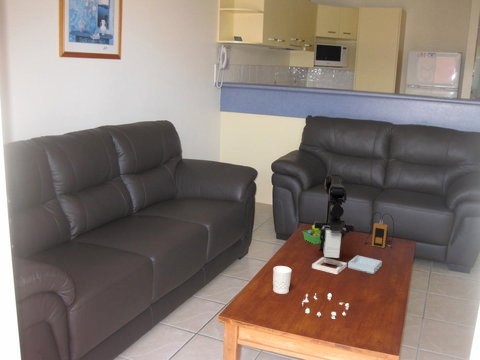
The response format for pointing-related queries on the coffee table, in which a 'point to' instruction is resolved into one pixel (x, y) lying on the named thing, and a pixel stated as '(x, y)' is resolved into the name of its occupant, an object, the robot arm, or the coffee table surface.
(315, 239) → the fruit basket
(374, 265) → the tray
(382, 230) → the multimeter
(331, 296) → the game piece set
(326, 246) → the supplement box
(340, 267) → the frame
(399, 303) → the coffee table surface
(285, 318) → the coffee table surface
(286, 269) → the white cup
